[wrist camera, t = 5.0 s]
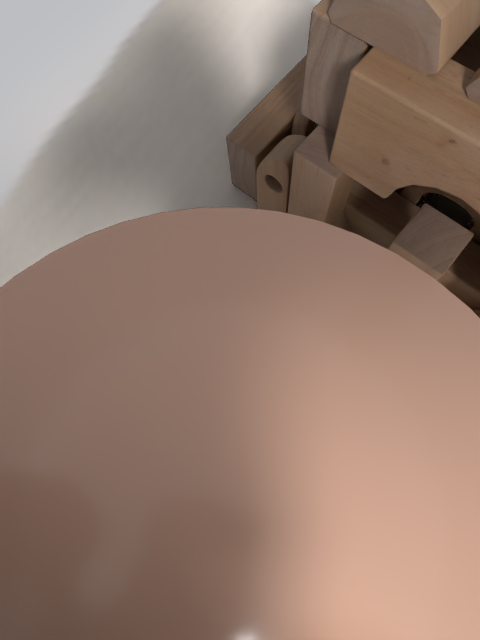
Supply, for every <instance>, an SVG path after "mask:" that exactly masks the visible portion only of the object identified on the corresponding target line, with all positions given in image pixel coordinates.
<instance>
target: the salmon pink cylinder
mask: <svg viewBox="0 0 480 640" xmlns="http://www.w3.org/2000/svg"><path fill="white" fill-rule="evenodd" d="M0 640H480V318H479V317H478V316H477V315H476V314H475V313H474V312H473V311H472V310H471V309H470V308H469V307H468V306H467V305H466V304H465V303H463V302H462V301H461V300H460V299H458V298H457V297H456V296H455V295H454V294H452V293H451V292H450V291H449V290H448V289H446V288H445V287H444V286H443V285H442V284H440V283H439V282H438V281H437V280H436V279H434V278H433V277H431V276H430V275H428V274H427V273H425V272H424V271H422V270H421V269H419V268H418V267H416V266H415V265H413V264H411V263H410V262H408V261H407V260H405V259H404V258H402V257H401V256H399V255H398V254H396V253H394V252H392V251H390V250H388V249H386V248H384V247H382V246H380V245H378V244H376V243H374V242H372V241H370V240H368V239H366V238H364V237H362V236H360V235H358V234H355V233H352V232H349V231H346V230H344V229H341V228H338V227H335V226H332V225H330V224H327V223H324V222H321V221H318V220H314V219H309V218H305V217H301V216H296V215H292V214H288V213H283V212H278V211H269V210H260V209H251V208H242V207H212V208H193V209H185V210H177V211H169V212H161V213H157V214H153V215H149V216H145V217H141V218H137V219H133V220H128V221H124V222H121V223H119V224H116V225H113V226H110V227H108V228H105V229H102V230H100V231H97V232H94V233H91V234H89V235H86V236H84V237H82V238H80V239H78V240H76V241H74V242H72V243H70V244H68V245H66V246H64V247H62V248H60V249H58V250H56V251H54V252H52V253H50V254H48V255H47V256H45V257H44V258H42V259H41V260H39V261H38V262H36V263H35V264H33V265H31V266H30V267H28V268H27V269H25V270H24V271H22V272H21V273H19V274H18V275H16V276H15V277H13V278H12V279H11V280H10V281H8V282H7V283H6V284H5V285H4V286H2V287H1V288H0Z"/></svg>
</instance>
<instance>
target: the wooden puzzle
mask: <svg viewBox="0 0 480 640" xmlns="http://www.w3.org/2000/svg"><path fill="white" fill-rule="evenodd" d="M315 123H316V124H318V126H317V127H316V128H315V129H314V125H315ZM226 140H227V147H228V155H229V162H230V170H231V177H232V183H233V184H234V185H235V186H236V187H238V188H239V189H241V190H242V191H243V192H245V193H246V194H248V195H249V196H250V197H252V198H253V199H255V200H256V201H257V209H260V210H269V211H278V212H283V213H288V214H292V215H296V216H301V217H305V218H309V219H314V220H318V221H321V222H324V223H327V224H330V225H332V226H335V227H338V228H341V229H344V230H346V231H349V232H352V233H355V234H358V235H360V236H362V237H364V238H366V239H368V240H370V241H372V242H374V243H376V244H378V245H380V246H382V247H384V248H386V249H388V250H390V251H392V252H394V253H396V254H398V255H399V256H401V257H402V258H404V259H405V260H407V261H408V262H410V263H411V264H413V265H415V266H416V267H418V268H419V269H421V270H422V271H424V272H425V273H427V274H428V275H430V276H431V277H433V278H434V279H436V280H437V281H438V282H439V283H440V284H442V285H443V286H444V287H445V288H446V289H448V290H449V291H450V292H451V293H452V294H454V295H455V296H456V297H457V298H458V299H460V300H461V301H462V302H463V303H465V304H466V305H467V306H468V307H469V308H470V309H471V310H472V311H473V312H474V313H475V314H476V315H477V316H478V317H479V318H480V0H322V1H321V2H320V3H319V4H318V5H317V6H316V7H315V8H314V9H313V10H312V13H311V22H310V31H309V40H308V49H307V55H306V56H305V57H304V58H303V59H302V60H301V61H300V62H299V63H298V64H297V65H296V66H295V67H294V68H293V69H292V70H291V71H290V72H289V73H288V74H287V75H286V76H285V77H284V78H283V79H282V80H281V81H280V82H279V84H278V85H277V86H276V87H275V88H274V89H273V90H272V91H271V92H270V93H269V94H268V95H267V96H266V97H265V98H264V99H263V100H262V101H261V102H260V103H259V104H258V105H257V106H256V107H255V108H254V109H253V110H252V111H251V112H250V113H249V114H248V115H247V116H246V117H245V118H244V119H243V120H242V121H241V122H240V123H239V124H238V125H237V126H236V127H235V128H234V129H233V130H232V131H231V132H230V133H229V135H228V136H227V137H226ZM429 193H436V194H440V195H443V196H445V197H447V198H449V199H450V200H452V201H454V202H455V203H457V204H458V205H460V206H461V207H463V208H464V209H465V210H466V211H467V212H469V214H470V215H471V217H472V220H471V221H470V222H469V223H468V226H469V227H470V228H471V229H470V230H468V229H466V228H465V227H463V226H461V225H460V224H458V223H457V222H455V221H454V220H452V219H450V218H449V217H447V216H446V215H444V214H443V213H441V212H439V211H438V210H436V209H435V208H433V207H432V206H430V205H428V204H426V203H425V204H423V205H422V207H421V208H420V207H418V206H417V205H416V204H417V203H418V201H419V200H420V199H421V197H423V198H425V197H426V196H427V195H428V194H429Z"/></svg>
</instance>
